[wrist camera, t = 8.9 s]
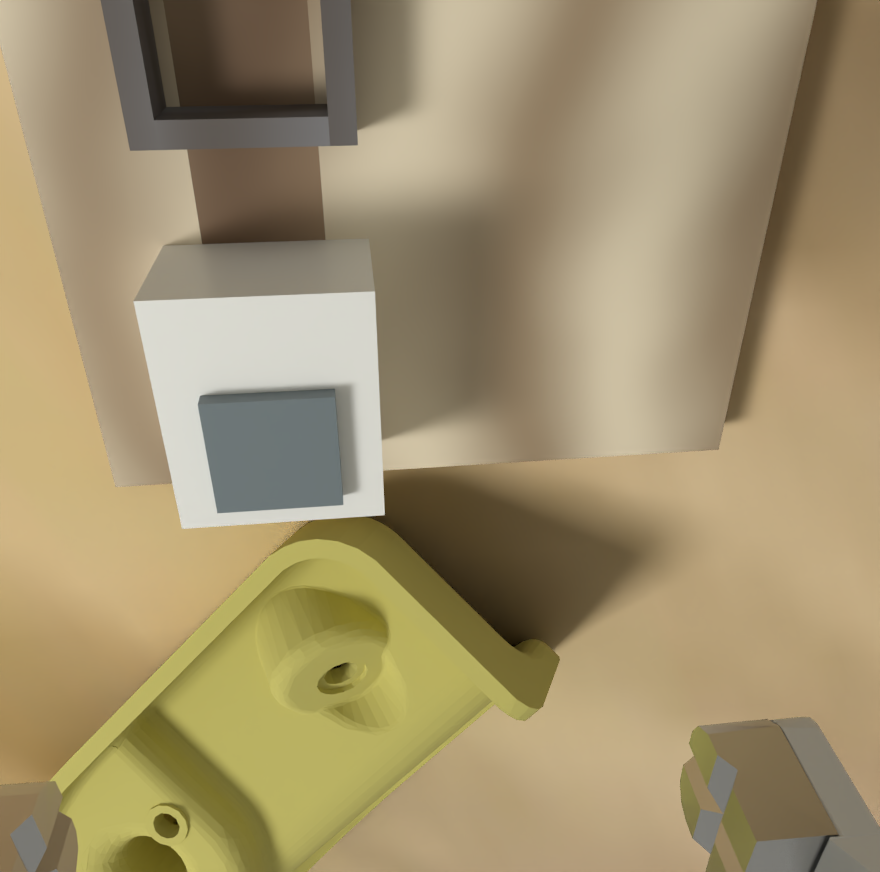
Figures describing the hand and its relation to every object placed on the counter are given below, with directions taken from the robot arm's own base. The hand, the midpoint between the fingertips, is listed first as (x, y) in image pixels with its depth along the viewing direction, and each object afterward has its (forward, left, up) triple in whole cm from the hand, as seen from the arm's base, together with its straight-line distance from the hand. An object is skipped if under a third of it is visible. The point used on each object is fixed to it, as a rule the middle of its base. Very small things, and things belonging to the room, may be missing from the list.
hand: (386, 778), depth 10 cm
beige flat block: (-2, -4, -14) cm, 15 cm away
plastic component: (+4, +15, -15) cm, 22 cm away
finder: (+2, 0, -13) cm, 13 cm away
